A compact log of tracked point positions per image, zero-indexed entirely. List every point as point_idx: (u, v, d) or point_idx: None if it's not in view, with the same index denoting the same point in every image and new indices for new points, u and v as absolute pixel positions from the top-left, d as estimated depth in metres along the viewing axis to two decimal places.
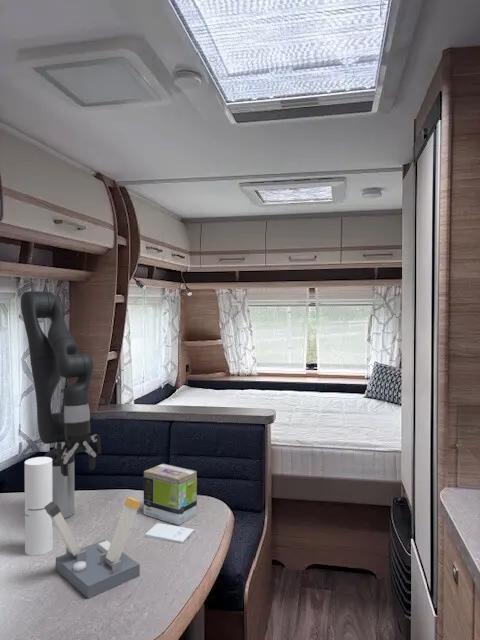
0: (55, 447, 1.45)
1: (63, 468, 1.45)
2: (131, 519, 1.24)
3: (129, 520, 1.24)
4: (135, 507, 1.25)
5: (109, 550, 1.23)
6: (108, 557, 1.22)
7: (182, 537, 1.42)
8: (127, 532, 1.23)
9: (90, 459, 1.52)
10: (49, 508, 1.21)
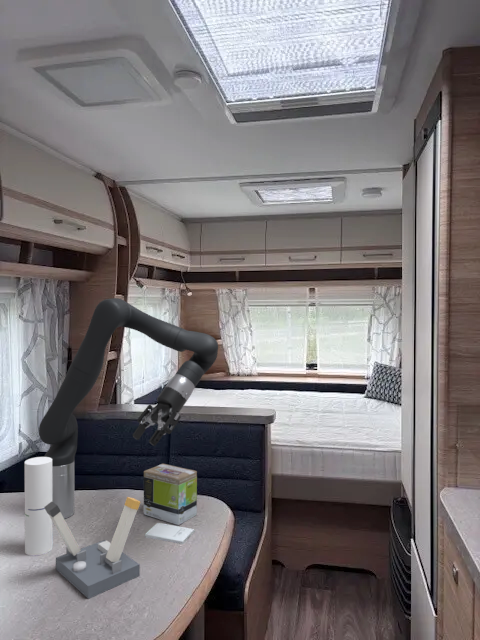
0: (175, 418, 1.33)
1: None
2: (131, 519, 1.24)
3: (129, 520, 1.24)
4: (135, 507, 1.25)
5: (109, 550, 1.23)
6: (108, 557, 1.22)
7: (182, 537, 1.42)
8: (127, 532, 1.23)
9: (142, 429, 1.38)
10: (49, 508, 1.21)
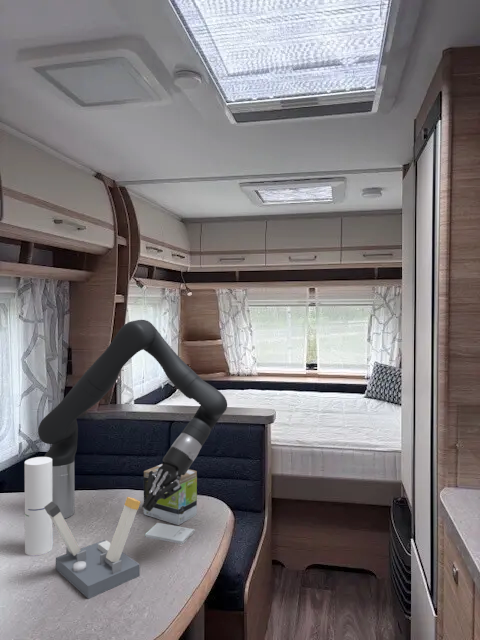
0: (174, 489, 1.29)
1: None
2: (131, 519, 1.24)
3: (129, 520, 1.24)
4: (135, 507, 1.25)
5: (109, 550, 1.23)
6: (108, 557, 1.22)
7: (182, 537, 1.42)
8: (127, 532, 1.23)
9: None
10: (49, 508, 1.21)
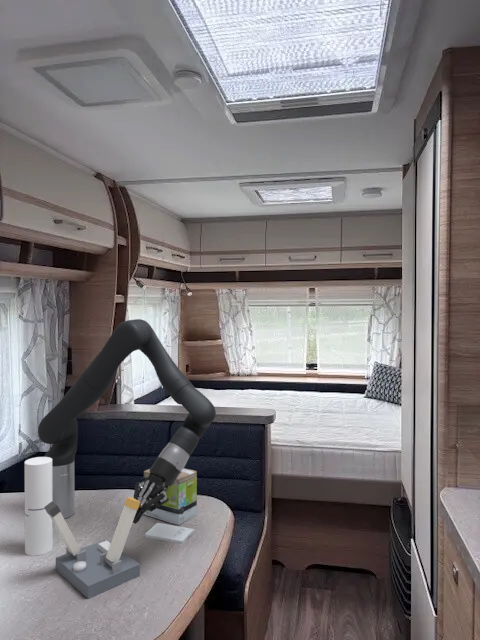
0: (161, 501, 1.26)
1: None
2: (131, 519, 1.24)
3: (129, 520, 1.24)
4: (135, 507, 1.25)
5: (109, 550, 1.23)
6: (108, 557, 1.22)
7: (182, 537, 1.42)
8: (127, 532, 1.23)
9: None
10: (49, 508, 1.21)
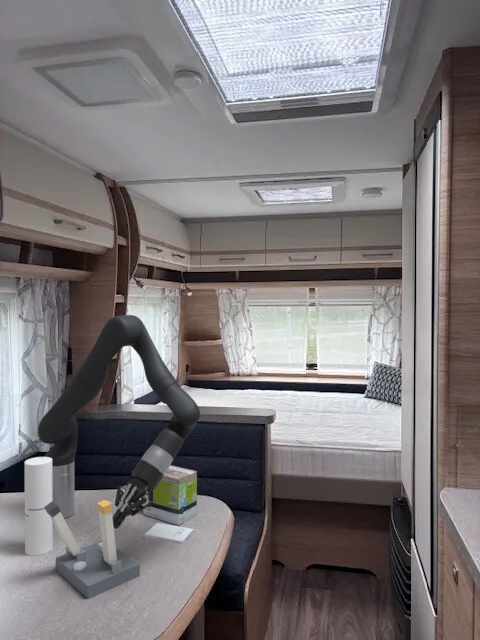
0: (142, 505, 1.22)
1: None
2: (110, 522, 1.20)
3: (108, 524, 1.20)
4: (108, 511, 1.19)
5: (104, 553, 1.22)
6: (105, 560, 1.21)
7: (182, 537, 1.42)
8: (112, 534, 1.20)
9: None
10: (49, 508, 1.21)
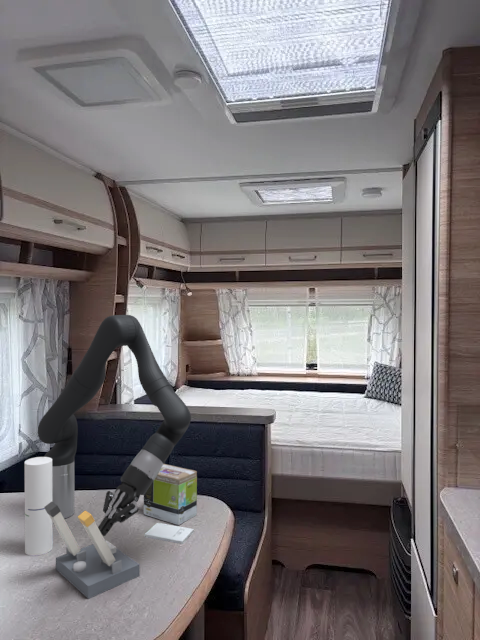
0: (131, 511, 1.19)
1: None
2: (96, 531, 1.17)
3: (95, 533, 1.17)
4: (90, 522, 1.16)
5: (101, 557, 1.21)
6: (104, 562, 1.21)
7: (182, 537, 1.42)
8: (102, 540, 1.19)
9: None
10: (49, 508, 1.21)
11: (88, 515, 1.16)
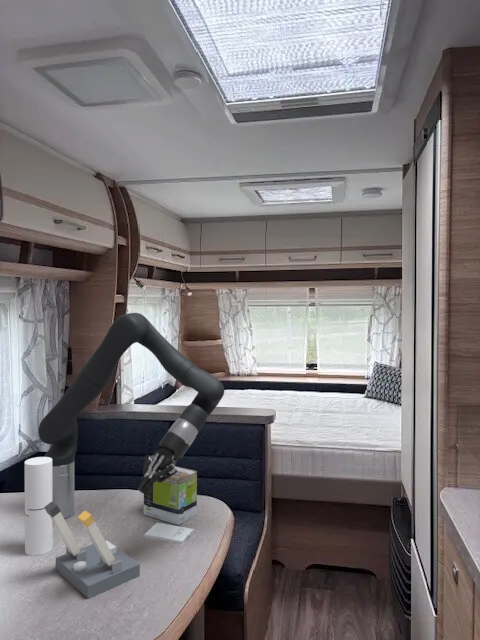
0: (169, 472, 1.30)
1: None
2: (96, 531, 1.17)
3: (95, 533, 1.17)
4: (90, 522, 1.16)
5: (101, 557, 1.21)
6: (104, 562, 1.21)
7: (182, 537, 1.42)
8: (102, 540, 1.19)
9: None
10: (49, 508, 1.21)
11: (88, 515, 1.16)
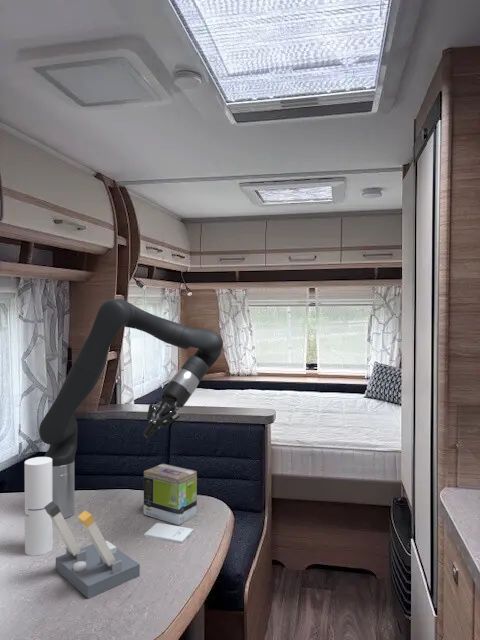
0: (172, 417, 1.36)
1: None
2: (96, 531, 1.17)
3: (95, 533, 1.17)
4: (90, 522, 1.16)
5: (101, 557, 1.21)
6: (104, 562, 1.21)
7: (182, 537, 1.42)
8: (102, 540, 1.19)
9: None
10: (49, 508, 1.21)
11: (88, 515, 1.16)
